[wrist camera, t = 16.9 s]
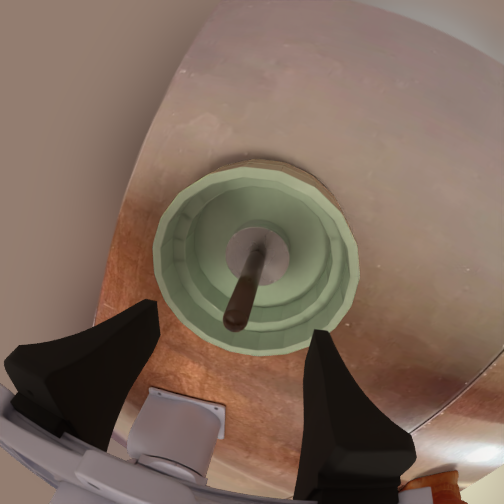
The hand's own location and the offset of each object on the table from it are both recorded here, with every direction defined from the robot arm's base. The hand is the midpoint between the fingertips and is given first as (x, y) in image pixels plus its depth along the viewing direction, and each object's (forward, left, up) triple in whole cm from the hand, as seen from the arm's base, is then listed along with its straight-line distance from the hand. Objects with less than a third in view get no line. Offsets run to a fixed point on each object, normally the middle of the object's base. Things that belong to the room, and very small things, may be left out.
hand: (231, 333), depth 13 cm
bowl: (0, 0, -10) cm, 10 cm away
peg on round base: (0, 0, -10) cm, 10 cm away
